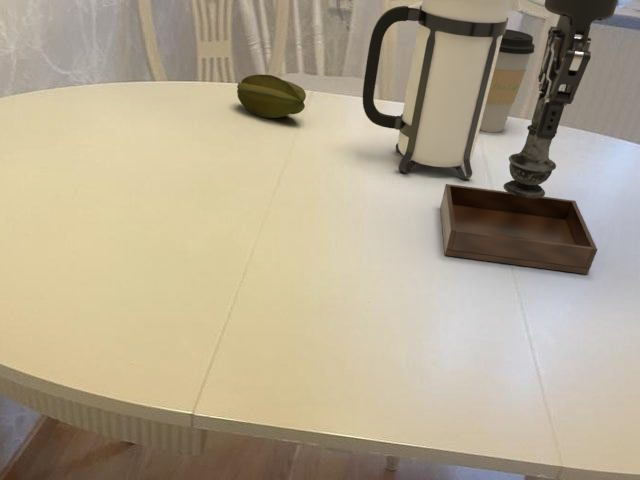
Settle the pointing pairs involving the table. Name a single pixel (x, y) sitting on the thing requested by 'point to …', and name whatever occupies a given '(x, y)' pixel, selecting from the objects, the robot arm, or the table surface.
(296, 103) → the fruit
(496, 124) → the coffee cup
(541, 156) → the salt shaker
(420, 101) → the coffee press
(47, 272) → the table surface
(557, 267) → the tray
